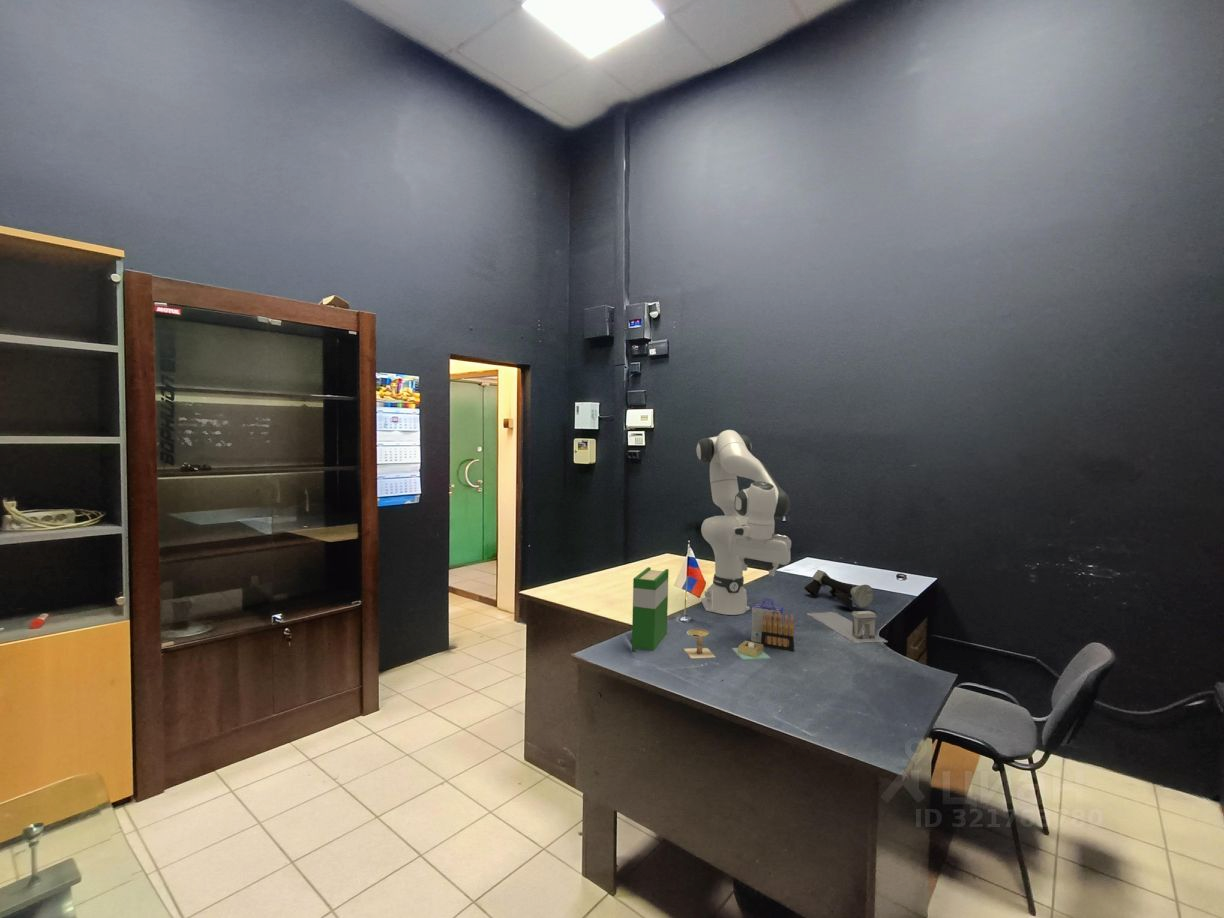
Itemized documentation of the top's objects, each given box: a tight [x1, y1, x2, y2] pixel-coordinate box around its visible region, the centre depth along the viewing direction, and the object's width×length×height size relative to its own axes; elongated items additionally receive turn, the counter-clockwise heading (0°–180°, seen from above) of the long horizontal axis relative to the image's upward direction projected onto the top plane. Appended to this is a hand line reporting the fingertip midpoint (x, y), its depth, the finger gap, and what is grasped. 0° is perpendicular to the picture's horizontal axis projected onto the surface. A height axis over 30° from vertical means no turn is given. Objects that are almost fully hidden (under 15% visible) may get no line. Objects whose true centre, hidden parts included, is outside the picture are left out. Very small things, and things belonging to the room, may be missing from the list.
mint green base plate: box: [731, 641, 771, 662], centre depth 176 cm, size 9×9×5 cm
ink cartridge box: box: [750, 598, 784, 644], centre depth 192 cm, size 10×6×14 cm, turn 64°
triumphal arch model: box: [806, 610, 889, 645], centre depth 209 cm, size 12×33×10 cm, turn 10°
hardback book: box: [631, 566, 670, 653], centre depth 187 cm, size 18×7×24 cm, turn 161°
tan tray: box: [737, 640, 764, 658], centre depth 176 cm, size 6×6×2 cm
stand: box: [683, 636, 716, 659], centre depth 176 cm, size 8×8×6 cm
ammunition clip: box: [760, 611, 795, 653], centre depth 186 cm, size 11×2×12 cm, turn 66°
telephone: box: [803, 569, 874, 611], centre depth 241 cm, size 15×13×30 cm
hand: (757, 572), depth 183 cm, fingers open, 8 cm apart
